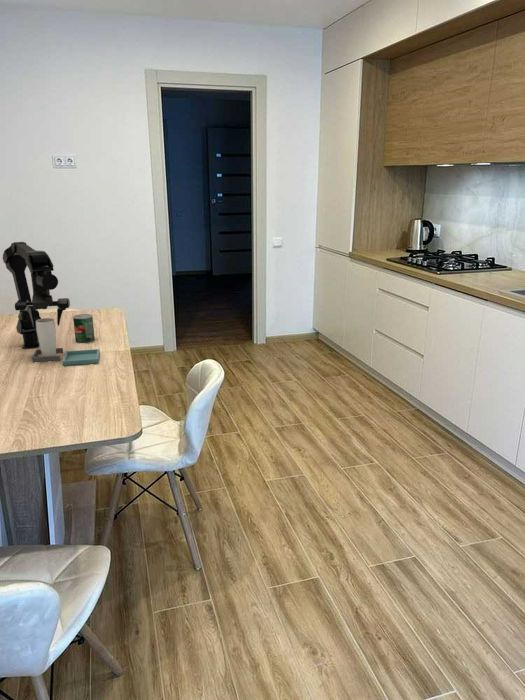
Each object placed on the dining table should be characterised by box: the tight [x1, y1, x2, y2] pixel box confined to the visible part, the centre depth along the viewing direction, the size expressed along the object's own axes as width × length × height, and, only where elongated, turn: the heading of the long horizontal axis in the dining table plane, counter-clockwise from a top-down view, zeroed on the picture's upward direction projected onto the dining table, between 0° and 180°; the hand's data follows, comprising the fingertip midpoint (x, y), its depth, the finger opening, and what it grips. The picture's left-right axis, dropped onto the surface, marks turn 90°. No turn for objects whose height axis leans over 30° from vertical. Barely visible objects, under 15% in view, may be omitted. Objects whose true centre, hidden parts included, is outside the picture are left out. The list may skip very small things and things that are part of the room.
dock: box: [31, 347, 64, 364], centre depth 201 cm, size 11×10×2 cm
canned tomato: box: [72, 313, 96, 344], centre depth 221 cm, size 8×8×11 cm
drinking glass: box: [36, 317, 58, 356], centre depth 199 cm, size 7×7×15 cm
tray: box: [61, 348, 101, 367], centre depth 198 cm, size 13×13×2 cm
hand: (45, 326), depth 197 cm, fingers open, 9 cm apart
